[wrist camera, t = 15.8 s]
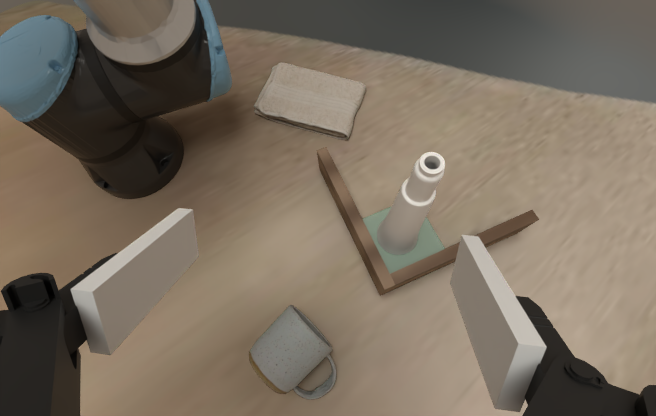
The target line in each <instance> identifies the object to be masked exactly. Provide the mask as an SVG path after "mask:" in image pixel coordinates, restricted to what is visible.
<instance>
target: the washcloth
mask: <svg viewBox="0 0 656 416" xmlns="http://www.w3.org/2000/svg"><path fill="white" fill-rule="evenodd" d="M365 90H366V86H365V85H364V84H362V82H357V81H355V80H349V79H347V78H346V79H345V78H342V77H338V76H334V75H331V74H327V73H325V72H324V73H323V72H319V71H315V70H310V69H305V68H302V67H297V66H295V65H292V64H289V63H288V64H286V63H284V62H283V63H278V65H276V66H274V67H273V68H272V73H271V75H270V77H269V79H268V81H267V82H266V84H265V86H264V88H263V90H262V91H261V93H260V95H259V97H258V99H257V101H256V103H255V104H254V107H255V108H256V109H255V113H256V114H258V115H261V116H263V117H264V118H266V119H269V120H272V121H274V122H278V123H281V124H284V125H288V126H292V127H296V128H299V129H303V130H307V131H310V132H314V133H318V134H322V135H326V136H329V137H332V138H336V139H341V140H347V139H348V138H349V136H350V134H351V130H352V127H353V122H354V121H353V120H354V117H355V115H356V112H357V110H358V109H359V107H360V105H361V102H362V100H363V96H364V93H365Z"/></svg>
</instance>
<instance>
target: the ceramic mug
mask: <svg viewBox="0 0 656 416" xmlns="http://www.w3.org/2000/svg"><path fill="white" fill-rule="evenodd" d="M331 351H332V347H331V345H330V344H329V342H328V341H327V340H326V338H325V337H324V336H323V334H321V332H320V331H319V330H318V329H317V328H316V327H315V326H314V324H313V323H312V322H311V321H310V320H309V319H308V318H307V317H306V316H305V315H304V314H303V313H302V312H301V311H300V310H299V309H297V308H296V307H294V306H293V305H290V306H288V307H287V309H286V310H285V311H284V312H283V313H282V314H281V315H280V316H279V317H278V318H277V319H276V320H275V321H274V323H273V324H272V325H271V326H270V327H269V328H268V329H267V330H266V331H265V332H264V333H263V334H262V336H261V337H260V338H259V339H258V340H257V341H256V342H255V344H254V345H253V347H252V348H251V350H250V352H249V360H250V363H251V365H252V367H253V369H254V370H255V372H256V373H257V375H258V376H259V377H260V378H261V379H262V381H263V382H264V383H265V384H266V385H267V386H268V387H270V388H271V389H272V390H274V391H275V392H277V393H280V394H286V393H287V392H289V391H291V390H292V389H293V390H294V391H295V392H296V393H297V394H298V395H300V396H301V397H303V398H306V399H318V398H320V397H322V396H324V395H325V394H326V393H328V392H329V391H330V390H331V388H332V387H333V386H334V384H335V381H336V367H335V364H334V361H333V360H332V358H331V356H330V354H329V353H330V352H331ZM325 357H327V358H328V359H329V361H330V363H331V367H332V373H331V375H330V378H329V379H328V380H327V381H326V382H324V383H323V384H322V385H321V386H320V387H318V388H316V389H315V391H305V390H303V389H301V388H299V387H298V386H297V385H298V384H299V383H300V382H301V381H302V380H303V379H304V378H305V377H306V376H307V375H308V374H309V373H310V372H311V371H312V370H313V369H314V368H315V367H316V366H317V365H318V364H319V363H320V362H321V361H322V360H323V359H324V358H325Z"/></svg>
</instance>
